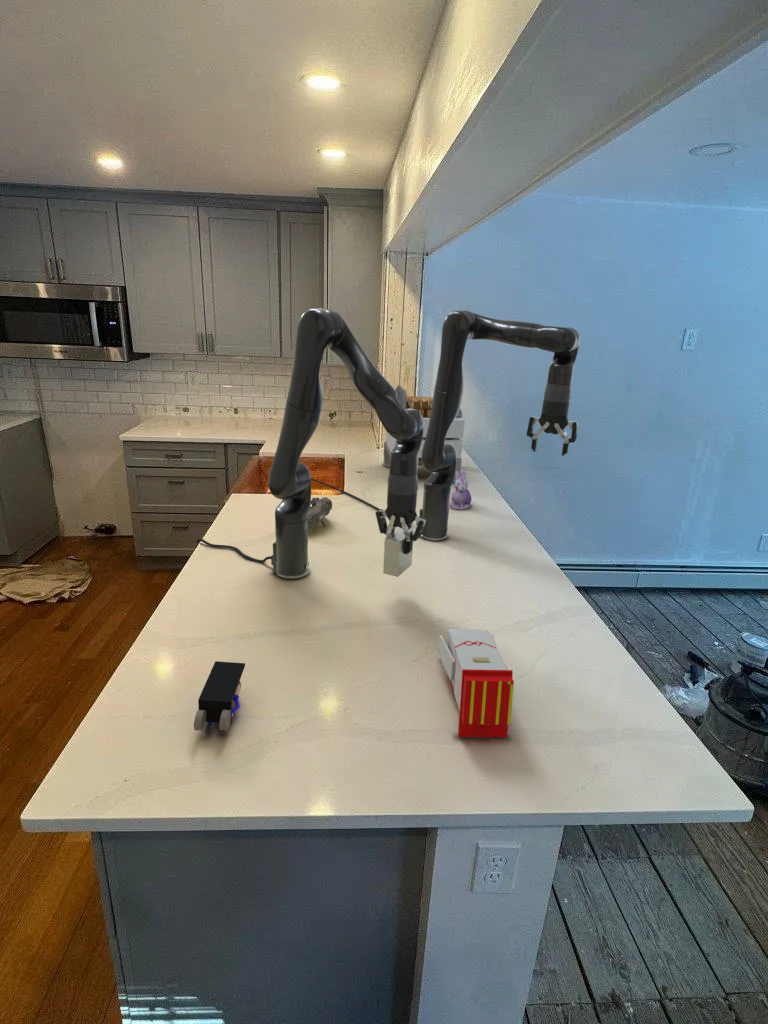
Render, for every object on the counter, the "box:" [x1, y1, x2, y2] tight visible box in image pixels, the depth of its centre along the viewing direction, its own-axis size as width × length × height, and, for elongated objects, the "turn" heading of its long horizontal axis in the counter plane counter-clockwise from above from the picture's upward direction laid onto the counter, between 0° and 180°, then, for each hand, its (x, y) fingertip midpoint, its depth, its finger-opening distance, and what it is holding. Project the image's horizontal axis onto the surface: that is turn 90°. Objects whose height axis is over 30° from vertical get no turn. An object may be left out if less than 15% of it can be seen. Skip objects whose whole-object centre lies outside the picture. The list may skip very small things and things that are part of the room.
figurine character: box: [193, 660, 246, 736], centre depth 107 cm, size 7×8×15 cm
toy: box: [437, 628, 515, 738], centre depth 117 cm, size 12×13×30 cm
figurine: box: [450, 469, 472, 511], centre depth 228 cm, size 9×10×15 cm
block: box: [382, 527, 415, 578], centre depth 149 cm, size 4×9×10 cm, turn 153°
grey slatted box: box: [383, 384, 465, 484], centre depth 268 cm, size 34×33×41 cm
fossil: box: [308, 496, 333, 533], centre depth 202 cm, size 22×10×15 cm
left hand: (398, 551), depth 149 cm, fingers closed on block, 4 cm apart
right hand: (548, 453), depth 171 cm, fingers open, 8 cm apart
